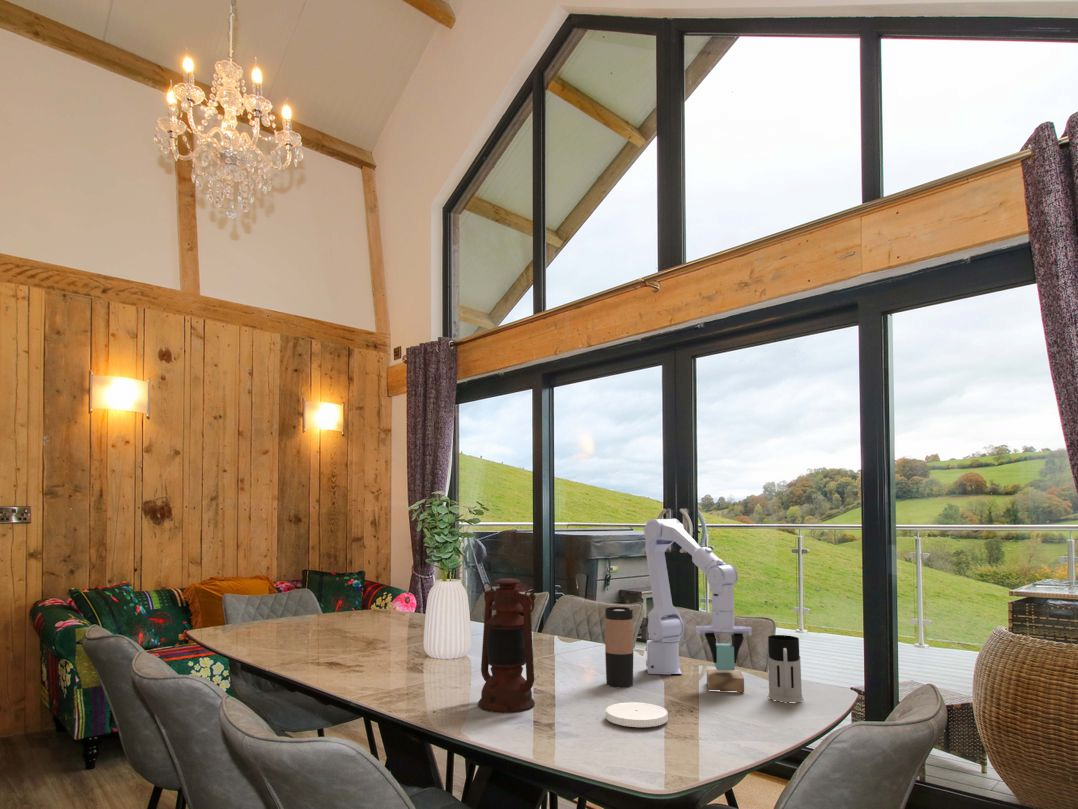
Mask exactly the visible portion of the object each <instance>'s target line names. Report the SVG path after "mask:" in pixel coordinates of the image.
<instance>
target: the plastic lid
mask: <svg viewBox="0 0 1078 809" xmlns="http://www.w3.org/2000/svg"><path fill="white" fill-rule="evenodd" d="M668 713H669V712H668V710H667V709H666V708H664V707H662V706H659V705H657V704H652V703H648V702H647V703H645V702H637V701H635V702H619V703H613V704H611V705H608V706H607V707H606V708H605V719H606V720H607V721H609V722H610V723H612V724H615V725H618V726H624V727H630V728H631V727H632V728H634V727H635V728H651V727H657V726H661V725H664V724H666V723H667V722H668V718H669V716H668V715H669V714H668Z"/></svg>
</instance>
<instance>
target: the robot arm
mask: <svg viewBox="0 0 1078 809" xmlns="http://www.w3.org/2000/svg"><path fill="white" fill-rule="evenodd" d="M684 526H685V525H684V524H683V523H681V522H680V520H678V519H677V518H675V517H674V518H657V519H656V518H650V519H649V520H648V521H647V523H646V524H645V526H644V527H643V534H644V541H645V554H646V561H647V567H648V573H649V582H650V588H651V595H652V602H653V608H652V609H651V610H650V611H649V613H648V614H647V618H648V622H647V632H648V633H647V634H648V635H649V637H650V639H647V640H646V661H645V665H646V670H647V674H649V675H671V674H682V675H683V673H682V670H681V669H680V650H679V649H680V646H679V644H680V643H679V641H681V637H682V636H683V635H684V632H685V624H684V621H683V619H682V617H681V614H680V610H679V609H677V608H676V607H675V606H674V605H673V600H672V594H671V587H670V581H669V574H668V568H667V561H666V555H665V551H666V550H667V548H668V547H670V545H672V544H673V543H676V544H677V545H678V546H679V547H681V548H682V549H684V551H686V552H687V553H688V554H689V555H691V557H692V558H691V559H692V560H691V561H692V563H693V564H694V565H695V566H696V567H697V568H699V570H700V571H701V572H703V573H704V574H705V575H706V580H707V584H709V587H710V588H709V589H710V592H711V610H712V612H711V613H712V616H711V617H712V624H711V625H696V626H695V633H696V635H704V637H705V639H706V642H707V643H708V646H709V650H710V653H711V656H712V657H711V658H712V662H713V663H714V664H715V663H717V657H716V643H717V638H716V635H731V637H730V638H731V644H732V645H733V646H734V664H737V659H738V655H739V651H740V648H741V645H742V644H743V641H744V639H745V638H744V636H753V631H752V630H753V628H752V627H751V626H741V625H739V626H738V625H735V602H734V601H735V599H734V597H735V596H734V593H735V592H734V585H735V584H737V582H738V578H739V575H738V571H737V569H736V568H735V567H734V565H733V564H731V563H726V562H724V561H723V560H722V559H721V558H719V557H718V556H717V555H716V554H715V553H713V550H712V549H711V547H706V546H703V547H701V545H699V544H698V543H697V541H696V540H695V539H694V538H693V537H692V536H691V535H690V534H689V533H688V532H687V531H686V530H685V527H684ZM663 616H664V617H663Z"/></svg>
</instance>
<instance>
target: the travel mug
mask: <svg viewBox="0 0 1078 809" xmlns="http://www.w3.org/2000/svg"><path fill="white" fill-rule="evenodd" d="M633 611H634V609H630V607H626V606H625V607H624V606H611V607H610V606H609V607H605V614H604V616H605V617H604V618H605V620H604V622H605V626H604V627H605V628H604V629H605V632H604V633H605V634H604V635H605V636H604V637H605V638H604V639H605V641H604V642H605V643H604V646H605V652H604V654H605V656H604V657H605V675H606V677H605V680H606V685H607V686H608V685H609V687H611V686H612V687H611V688H617V687H625V688H630V687H632V686H633V684H634V616H633V615H634V612H633Z"/></svg>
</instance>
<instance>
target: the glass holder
mask: <svg viewBox="0 0 1078 809" xmlns="http://www.w3.org/2000/svg"><path fill="white" fill-rule="evenodd" d="M767 636H768V637H767V642H768V643H767V646H768V654H767V661H768V662H767V666H768V691H769V692H768V695H767V698H768V697H769V698H770V699H772V700H776V701H782V702H801V701H803V700H804V701H805V699H804V697H803V693H802V691H803V690H802V667H801V656H800V639H799V637H797V636H792V635H787V634H772V635H767ZM770 699H769V700H770ZM772 700H771V701H772ZM804 701H803V702H804ZM801 703H802V702H801Z"/></svg>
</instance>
